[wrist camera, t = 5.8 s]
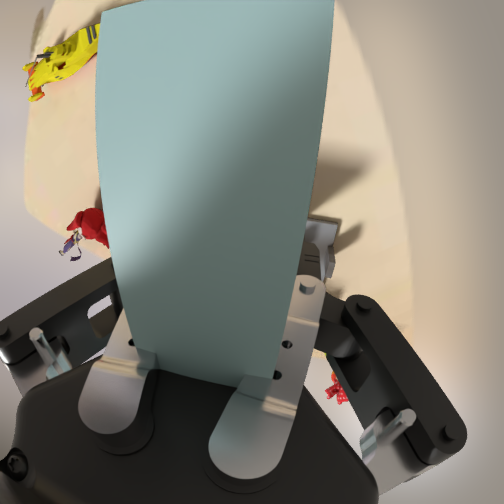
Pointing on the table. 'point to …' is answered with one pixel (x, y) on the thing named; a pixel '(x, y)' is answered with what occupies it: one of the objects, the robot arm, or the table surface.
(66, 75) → the toy boat
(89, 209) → the figurine
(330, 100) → the table surface
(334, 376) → the bird rattle
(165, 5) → the door
